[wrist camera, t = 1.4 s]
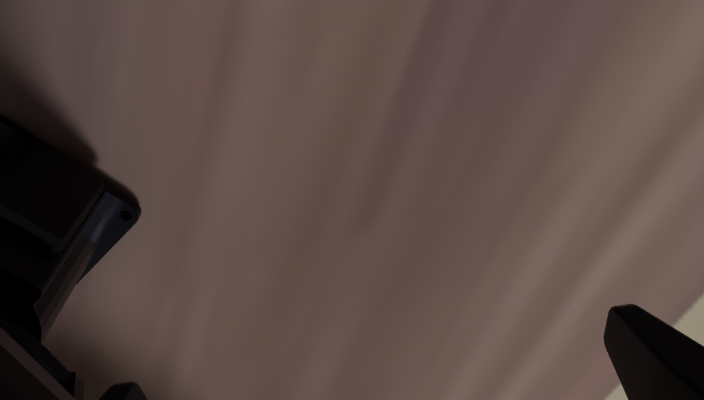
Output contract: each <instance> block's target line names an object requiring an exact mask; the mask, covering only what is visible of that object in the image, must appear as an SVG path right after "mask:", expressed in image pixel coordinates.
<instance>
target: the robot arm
mask: <svg viewBox="0 0 704 400" xmlns="http://www.w3.org/2000/svg"><path fill="white" fill-rule="evenodd" d="M0 131H1V133H0V400H83V392H84V381H83V380H82V379H81V378H80V377H79V376H78V375H77V374H76V373H75V372H69V371H68V370H67V369H66V368H65V367H64V366H63V365H62V364H61V363H60V362H59V361H58V360H57V359H56V358H55V357H54V356H53V355H52V354H51V353H50V352H49V351H48V350H47V349H46V348H45V347H44V346H43V345H42V344H41V343H42V342H43V340H44V338H45V337H46V335H47V333H48V331H49V330H50V328H51V326H52V325H53V323H54V321H55V319H56V318H57V316H58V314H59V313H60V311H61V309H62V307H63V306H64V304H65V302H66V301H67V299H68V297H69V295H70V294H71V292H72V290H73V289H74V287H75V285H76V284H77V283H78V282H79V281H80V280H81V279H82V278H83V277H84V276H85V275H86V274H87V273H88V272H89V271H90V270H91V269H92V268H93V267H94V266H95V265H96V264H97V262H98V261H99V260H100V259H101V258H102V257H103V256H104V255H105V254H106V253H107V252H108V251H109V250H110V249H111V248H112V247H113V246H114V245H115V244H116V243H117V242H118V241H119V240H120V239H121V238H122V237H123V236H124V235H125V234H126V232H127V231H128V230H129V229H130V228H131V227H132V226H133V225H134V224H135V223H136V222H137V220H138V219H139V217H140V215H141V209H140V207H139V205H137V204H136V203H135V202H134V201H132V200H131V199H129V198H128V197H126V196H124V195H123V194H121V193H120V192H118V191H117V190H115V189H114V188H112V187H111V186H109V185H108V184H106V183H105V182H103V181H102V180H101V179H99V178H98V177H96V176H95V175H93V174H92V173H90V172H89V171H87V170H86V169H84V168H83V167H81V166H80V165H78V164H77V163H75V162H73V161H72V160H70V159H69V158H67V157H66V156H64V155H63V154H61V153H60V152H58V151H57V150H55V149H54V148H52V147H51V146H49V145H48V144H45V143H44V142H42V141H41V140H39V139H38V138H36V137H35V136H33V135H31V134H30V133H28V132H27V131H25V130H24V129H22V128H21V127H19V126H18V125H16V124H15V123H13V122H12V121H10V120H9V119H7V118H6V117H3V116H1V115H0ZM123 210H127V211H129V212H130V213H131V214H132V215H127V214H125V213H124V212H123ZM604 344H605V347H606V350H607V352H608V354H609V357H610V359H611V361H612V364H613V366H614V368H615V370H616V373H617V375H618V377H619V379H620V382H621V384H622V386H623V388H624V391H625V393H626V395H627V397H628V400H704V346H702V345H701V344H699V343H697V342H695V341H694V340H692V339H691V338H689V337H688V336H686V335H684V334H683V333H681V332H679V331H678V330H676V329H675V328H673V327H671V326H670V325H668V324H666V323H665V322H663V321H662V320H660V319H658V318H657V317H655V316H653V315H652V314H650V313H649V312H647V311H645V310H644V309H642V308H640V307H639V306H637V305H634V304H626V305H619V306H614V307H612V308H611V309H610V310H609V312H608V317H607V322H606V327H605V332H604ZM99 400H147V398H146V396H145V395H144V393H143V391H142V390H141V388H140V387H139V385H138V384H137V383H135V382H126V383H119V384H115V385H113V386H112V387H110V388H109V389H108V390H107V391H106V392H105V394H104V395H103V396H102V397H101V398H100V399H99Z"/></svg>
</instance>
